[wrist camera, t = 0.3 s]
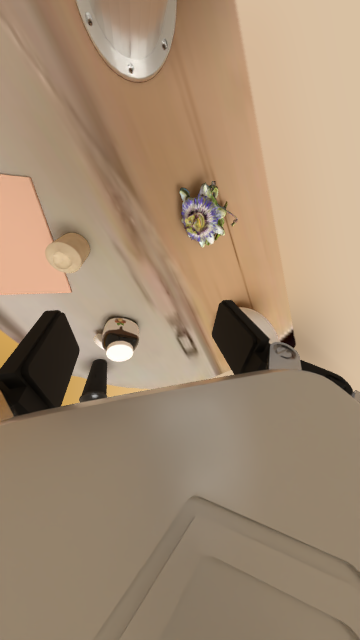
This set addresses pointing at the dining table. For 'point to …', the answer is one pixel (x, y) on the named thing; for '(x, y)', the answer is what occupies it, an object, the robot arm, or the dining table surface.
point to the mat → (25, 242)
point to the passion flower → (203, 214)
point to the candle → (67, 252)
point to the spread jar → (118, 338)
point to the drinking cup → (95, 382)
